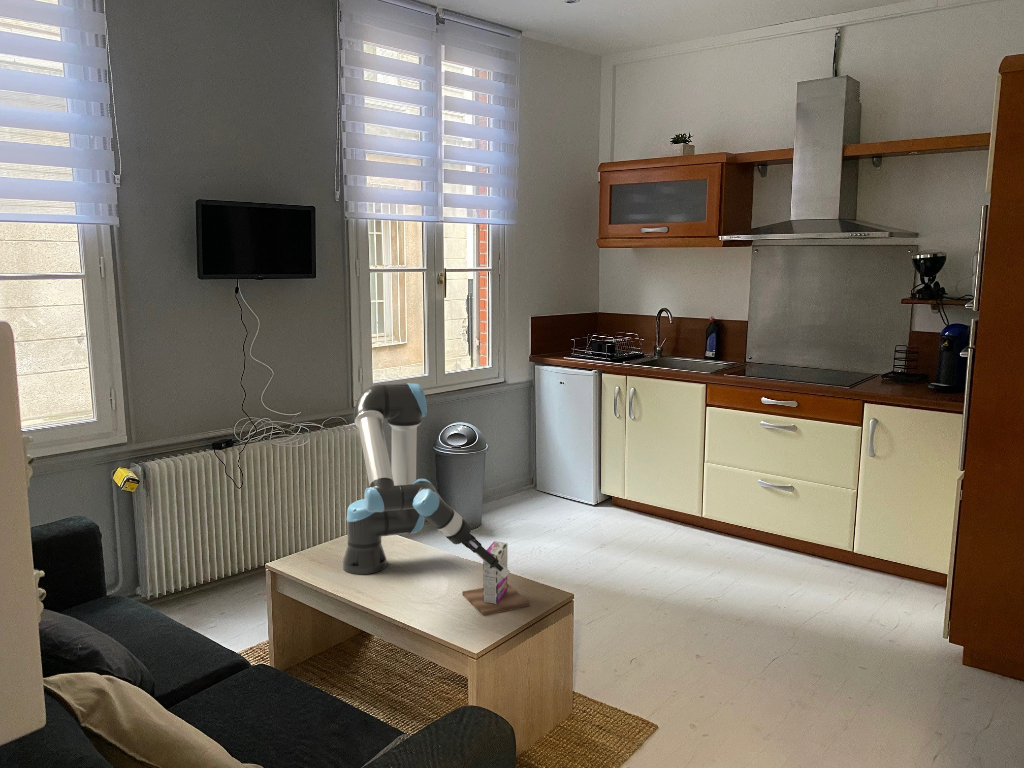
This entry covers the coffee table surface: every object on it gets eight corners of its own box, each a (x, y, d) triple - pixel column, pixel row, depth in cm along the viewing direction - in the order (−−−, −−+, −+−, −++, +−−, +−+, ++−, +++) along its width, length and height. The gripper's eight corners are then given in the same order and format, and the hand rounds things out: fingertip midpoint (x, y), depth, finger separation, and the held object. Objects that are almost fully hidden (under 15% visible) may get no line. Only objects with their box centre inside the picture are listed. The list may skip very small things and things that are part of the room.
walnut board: (462, 595, 253) (462, 591, 253) (507, 586, 260) (507, 583, 260) (482, 615, 239) (482, 611, 239) (529, 606, 246) (529, 602, 246)
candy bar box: (493, 588, 256) (493, 540, 253) (507, 591, 254) (508, 542, 252) (481, 603, 245) (482, 552, 242) (497, 605, 244) (497, 554, 241)
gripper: (431, 524, 249) (473, 561, 258) (461, 551, 227) (507, 591, 236) (446, 506, 251) (488, 544, 260) (479, 531, 229) (523, 571, 238)
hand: (497, 566), depth 248 cm, fingers open, 13 cm apart
